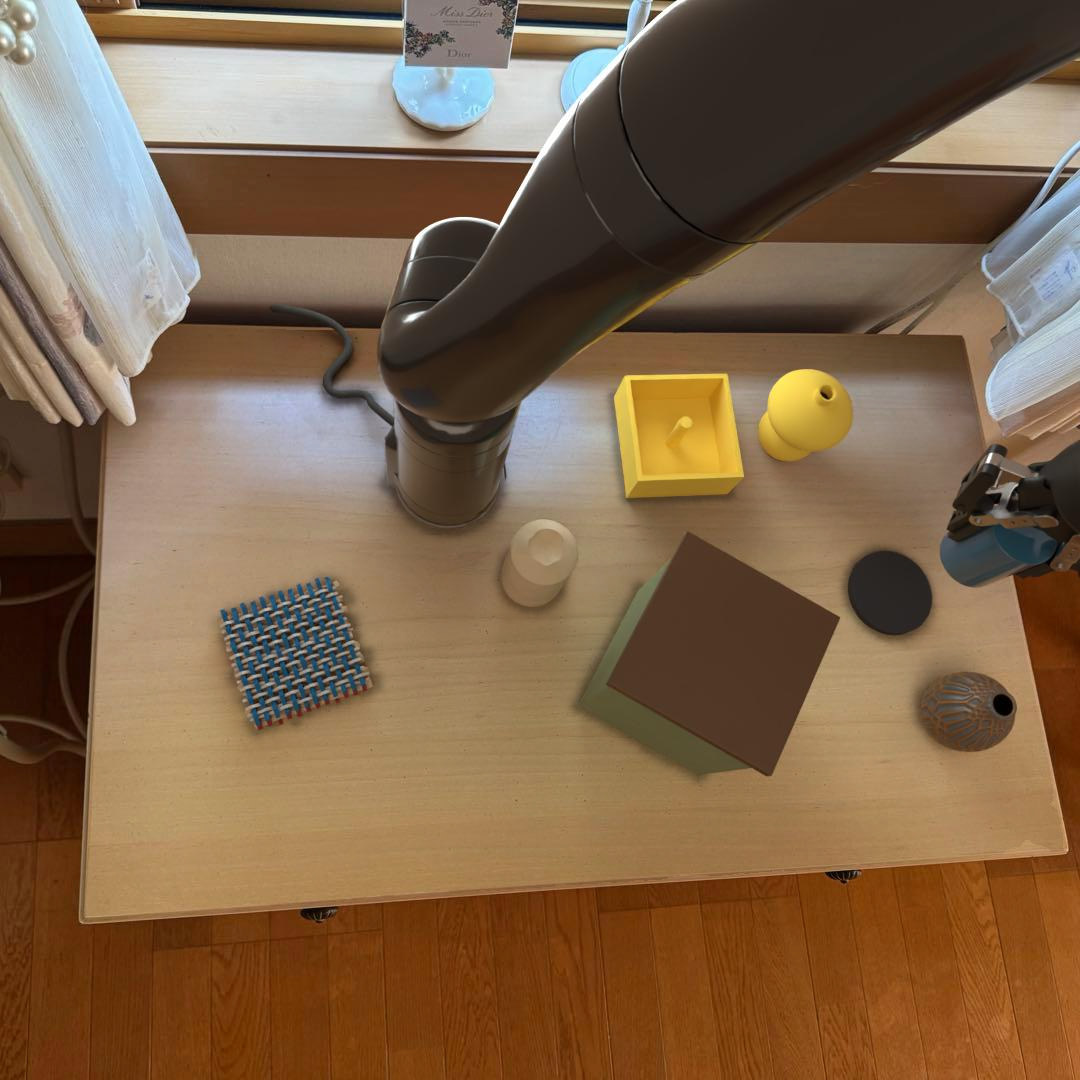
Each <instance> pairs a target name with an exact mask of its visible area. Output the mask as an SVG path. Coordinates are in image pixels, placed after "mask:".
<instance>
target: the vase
mask: <svg viewBox="0 0 1080 1080" xmlns="http://www.w3.org/2000/svg"><path fill="white" fill-rule="evenodd" d="M1017 711H1018V704H1017V702H1016V698H1015V697H1014V696H1013V695H1012V693H1010V692H1009V691H1008V690H1007V688H1006V687H1005V686H1003V684H1001V683H1000V682H999V681H998V680H996V679H995V678H993V677H991V676H990V675H986V674H983V673H980V672H975V671H957V672H952V673H948V674H946V675H944V676H942V677H940V678H938V679H937V680H935V681H934V682H933V683H931V684H930V686H929V687H928V688H927V689H926V691H925V692H924V694H923V696H922V699H921V702H920V717H921V721H922V724H923V727H924V728H925V730H926V731H927V733H928V735H929V736H931V737H932V739H934V740H935V741H936V742H937V743H938V744H940V745H942V746H943V747H945V748H948V749H949V750H953V751H956V752H960V753H961V752H962V753H978V752H984V751H987V750H989V749H992V748H994V747H996V746H998V745H999V744H1001V743H1002V742H1003V741H1004V740H1005V739H1006V738H1007V737H1008V736H1009V734H1010V733H1011V731H1012V730H1013V727H1014V725H1015V722H1016V714H1017Z"/></svg>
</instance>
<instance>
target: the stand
mask: <svg viewBox="0 0 1080 1080" xmlns="http://www.w3.org/2000/svg"><path fill="white" fill-rule="evenodd" d="M840 620H841V616H839V615H838V614H836V613H835V612H833V611H830V610H828V609H827V608H825V607H823V606H822V605H820V604H818V603H816V602H814V601H813V600H811V599H809V598H807V597H806V596H804V595H802V594H800V593H799V592H797V591H795V590H793V589H791V588H789V587H787V586H786V585H784V584H783V583H781V582H779V581H777V580H775V579H774V578H772V577H770V576H769V575H766V574H765V573H763V572H761V571H759V570H758V569H756V568H755V567H753V566H750V565H749V564H747V563H746V562H743V561H742V560H740V559H738V558H736V557H735V556H734V555H731V554H729V553H728V552H726V551H724V550H722V549H721V548H719V547H717V546H715V545H713V544H711V543H710V542H708V541H707V540H704V539H703V538H701V537H699V536H697V535H696V534H694V533H692V532H690V531H689V530H686V531H685V532H684V533H683V534H682V536H681V537H680V540H679V542H678V544H677V545H676V548H675V550H674V552H673V554H672V556H671V557H670V559H669V560H668V561H666V563H665V564H664V565H663V566H662V567H661V568H660V569H658V571H656V572H655V574H653V575H652V576H651V578H649V579H648V580H647V582H645V583H644V584H643V585H642V587H640V588H639V589H638V590H637V592H636V594H635V596H634V598H633V600H632V602H631V604H630V605H629V608H628V609H627V611H626V613H625V614H624V617H623V618H622V621H621V623H620V624H619V626H618V628H617V630H616V631H615V634H614V636H613V638H612V640H611V641H610V644H609V645H608V648H607V649H606V651H605V653H604V654H603V656H602V659H601V661H600V662H599V664H598V666H597V668H596V670H595V672H594V674H593V676H592V678H591V680H590V681H589V683H588V686H587V687H586V690H585V691H584V693H583V695H582V697H581V699H580V700H579V702H578V705H577V707H578V708H580V709H582V710H583V711H585V712H587V713H588V714H591V715H592V716H594V717H595V718H597V719H599V720H601V721H602V722H604V723H605V724H608V725H609V726H611V727H612V728H615V729H616V730H618V731H619V732H622V733H623V734H625V735H627V736H629V737H631V738H632V739H634V740H635V741H637V742H639V743H641V744H642V745H644V746H646V747H648V748H649V749H651V750H653V751H655V752H656V753H658V754H660V755H662V756H663V757H665V758H667V759H669V760H671V761H672V762H674V763H676V764H677V765H678V766H681V767H683V768H685V769H687V770H688V771H690V772H691V773H693V774H695V775H697V776H703V775H710V774H712V775H713V774H717V773H727V772H733V771H740V770H747V769H752V770H754V771H756V772H758V773H760V774H761V775H763V776H765V777H772V776H773V774H774V773H775V770H776V767H777V766H778V763H779V760H780V758H781V756H782V753H783V751H784V750H785V749H784V748H785V747H786V745H787V742H788V740H789V738H790V735H791V733H792V731H793V729H794V726H795V724H796V722H797V719H798V716H799V715H800V712H801V710H802V708H803V705H804V703H805V700H806V698H807V697H808V693H809V692H810V689H811V686H812V684H813V682H814V680H815V678H816V675H817V674H818V670H819V669H820V666H821V663H822V662H823V659H824V657H825V655H826V652H827V650H828V647H829V645H830V643H831V641H832V638H833V636H834V633H835V631H836V629H837V627H838V625H839V622H840Z"/></svg>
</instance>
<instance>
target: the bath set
mask: <svg viewBox="0 0 1080 1080" xmlns="http://www.w3.org/2000/svg"><path fill="white" fill-rule="evenodd" d="M730 388H731V387H730V382H729V375H728V373H689V374H687V373H686V374H684V373H683V374H680V373H679V374H678V373H677V374H633V375H632V374H631V375H629V374H628V375H627V374H626V375H624V376H623V378H622V379H621V381H620V384H619V386H618V388H617V390H616V392H615V394H614V396H613V401H614V402H613V403H614V409H615V419H616V426H617V431H618V432H617V433H618V434H617V435H618V442H619V449H620V457H621V458H620V459H621V465H622V472H623V474H622V475H623V483H624V490H625V498H626V499H635V498H663V497H665V498H666V497H687V496H711V495H728V494H729V493H730V492H731V491H732V489H734V488H735V487H736V486H737V485H738V484H739V483H740V482H741V481H742V480H743V479H744V478H745V474H744V468H743V462H742V455H741V450H740V443H739V437H738V430H737V425H736V419H735V412H734V406H733V400H732V395H731V394H732V393H731V389H730ZM766 409H767V410H766V411H765V413H764V414H763V416H762V417H761V419H760V421H759V424H758V429H757V434H758V440H759V443H760V445H761V447H762V448H763V450H764V451H765V452H766V453H767V454H768V455H769V456H771V457H772V458H774V459H775V460H779V461H781V462H782V461H783V462H795V461H799V460H801V459H804V458H805V457H808V455H809V454H811V452H822V451H826V450H829V449H832V448H833V447H835V446H837V445H838V444H840V442H842V441H843V440H844V439H845V438H846V436H847V435H849V432H850V430H851V428H852V424H853V420H854V408H853V403H852V400H851V397H850V394H849V393H848V391H847V390H846V388H845V387H844V385H842V383H840V381H838V380H837V379H836V378H835V377H834V376H832V375H831V374H829V373H827V372H823V371H821V370H818V369H814V368H813V369H812V368H803V369H801V368H800V369H796V370H792V371H790V372H788V373H786V374H784V375H783V376H781V377H780V378H779V379H778V380H777V381H776V383H775V384H774V385H773V386H772V388H771V390H770V392H769V395H768V398H767V408H766Z"/></svg>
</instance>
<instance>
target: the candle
mask: <svg viewBox="0 0 1080 1080" xmlns="http://www.w3.org/2000/svg"><path fill="white" fill-rule="evenodd" d="M578 559H579V548H578V544H577V541H576V538H575V537H574V535H573V534H572V533H571V531H570V530H569V528H567V527H565V526H564V525H563V524H561V523H560V522H558V521H555V520H551V519H545V518H544V519H543V518H542V519H535V520H532V521H529V522H526V523H524V525H522V526H521V527H520V528H519V529H518V530H517V531H516V533H515V534H514V536H513V538H512V540H511V543H510V545H509V547H508V551H507V554H506V557H505V559H504V561H503V562H504V563H503V565H502V568H501V572H500V573H501V574H500V577H501V584H502V587H503V591H504V592H505V594H506V595H507V596H508V597H509V598H510V600H512V601H513V602H515V604H518V605H520V606H523V607H527V608H537V607H542V606H544V605H546V604H548V603H550V602H551V601H552V600H554V599H555V597H556V596H557V595H558V594H559V593H560V591H561V590H562V588H563V586H564V585H565V584H566V582H567V581H568V579H569V577H570V576H571V575H572V573H573V572H574V570H575V568H576V566H577V563H578V561H579V560H578Z"/></svg>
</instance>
